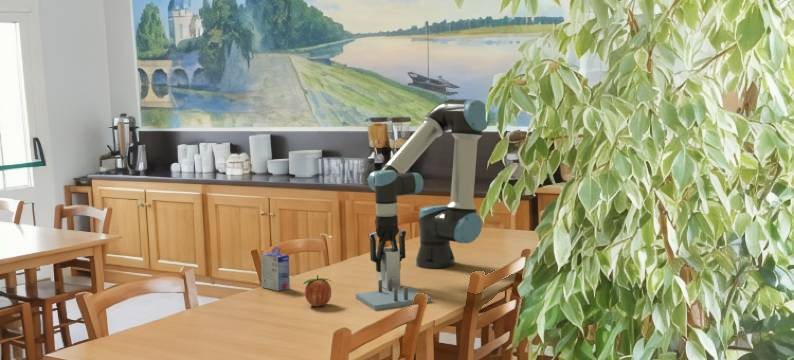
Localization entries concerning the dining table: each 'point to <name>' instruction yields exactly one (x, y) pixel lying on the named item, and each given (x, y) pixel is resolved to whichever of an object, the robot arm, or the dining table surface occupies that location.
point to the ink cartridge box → (275, 270)
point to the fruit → (317, 291)
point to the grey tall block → (390, 267)
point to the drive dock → (388, 297)
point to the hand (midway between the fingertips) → (388, 279)
